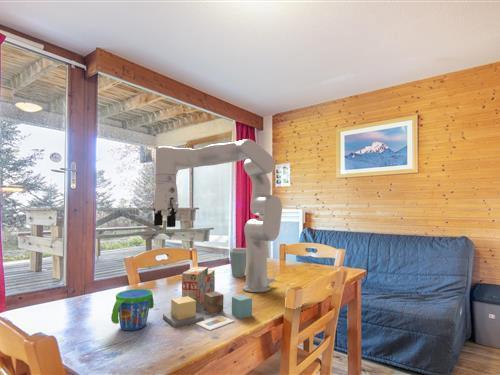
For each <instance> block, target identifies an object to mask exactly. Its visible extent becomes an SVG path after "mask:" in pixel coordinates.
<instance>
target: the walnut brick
mask: <svg viewBox="0 0 500 375" xmlns="http://www.w3.org/2000/svg"><path fill="white" fill-rule="evenodd" d="M203 311H204V312H205V313H207V314H209V315H215V314H218V313H223V312H224V294H223V293H221V292H219V291H216V290H215V291H214V292H210V293H205V294H204V301H203Z"/></svg>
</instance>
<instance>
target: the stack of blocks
mask: <svg viewBox="0 0 500 375" xmlns="http://www.w3.org/2000/svg"><path fill="white" fill-rule="evenodd" d="M215 273H216V272H215V269H209V267H208V266H193V267H191V268H189V269H188V270H185V271H183V272H182V274H181V275H182V276H181V278H182V279H181V281H182V282H181V297H186V296H189V297H190V298H192V299H194V300H196V307H199V305H201V304H203V303H204V294H205V293H210V292H215V291H216V287H215V285H216V282H215V280H216V276H215Z"/></svg>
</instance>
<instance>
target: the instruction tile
mask: <svg viewBox="0 0 500 375" xmlns="http://www.w3.org/2000/svg"><path fill="white" fill-rule="evenodd" d="M234 322H235V320H234V319H232V318H228V317H225V316H223V315H221V314H220V315H217V316H213V317H211V318H207V319H205V320H204V321H200V322H195V325H197V326H199V327H200V328H203V329H206V330H208V331H213V330H215V329H218V328H220V327H224V326H225V325H229V324H231V323H234Z"/></svg>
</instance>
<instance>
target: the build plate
mask: <svg viewBox="0 0 500 375" xmlns="http://www.w3.org/2000/svg"><path fill="white" fill-rule="evenodd" d="M170 300H171V301H170V312H166V313H163V314H162V318H163V319H164V320H165V321H166V322H168V323H169V325H170V326H172V327H173V328H178V327H183V326H186V325H191V324H196V323H198V322H201V321H204V319H205V316H203V315H202V314H201V313H199V312H197V311H196V309H197V308H196V300H194V299H192V298H190V297H189V296H186V297H182V296H181V297H176V298H171V299H170Z"/></svg>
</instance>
